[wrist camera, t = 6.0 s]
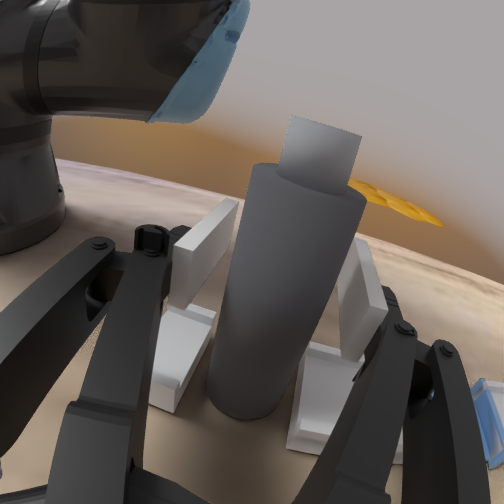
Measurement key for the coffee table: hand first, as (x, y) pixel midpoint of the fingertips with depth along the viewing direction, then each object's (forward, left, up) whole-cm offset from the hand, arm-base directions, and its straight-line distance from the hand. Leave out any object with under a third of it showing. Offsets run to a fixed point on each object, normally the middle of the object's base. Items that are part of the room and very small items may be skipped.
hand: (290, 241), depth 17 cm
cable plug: (0, -5, -6) cm, 8 cm away
